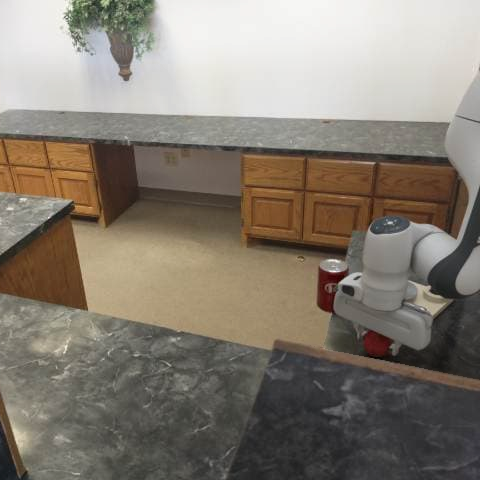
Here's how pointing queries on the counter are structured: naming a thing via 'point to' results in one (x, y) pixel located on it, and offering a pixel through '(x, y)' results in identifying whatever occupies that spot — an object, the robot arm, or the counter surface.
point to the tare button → (433, 291)
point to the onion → (376, 343)
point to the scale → (429, 300)
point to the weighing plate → (411, 291)
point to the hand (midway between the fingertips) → (376, 345)
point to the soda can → (329, 282)
